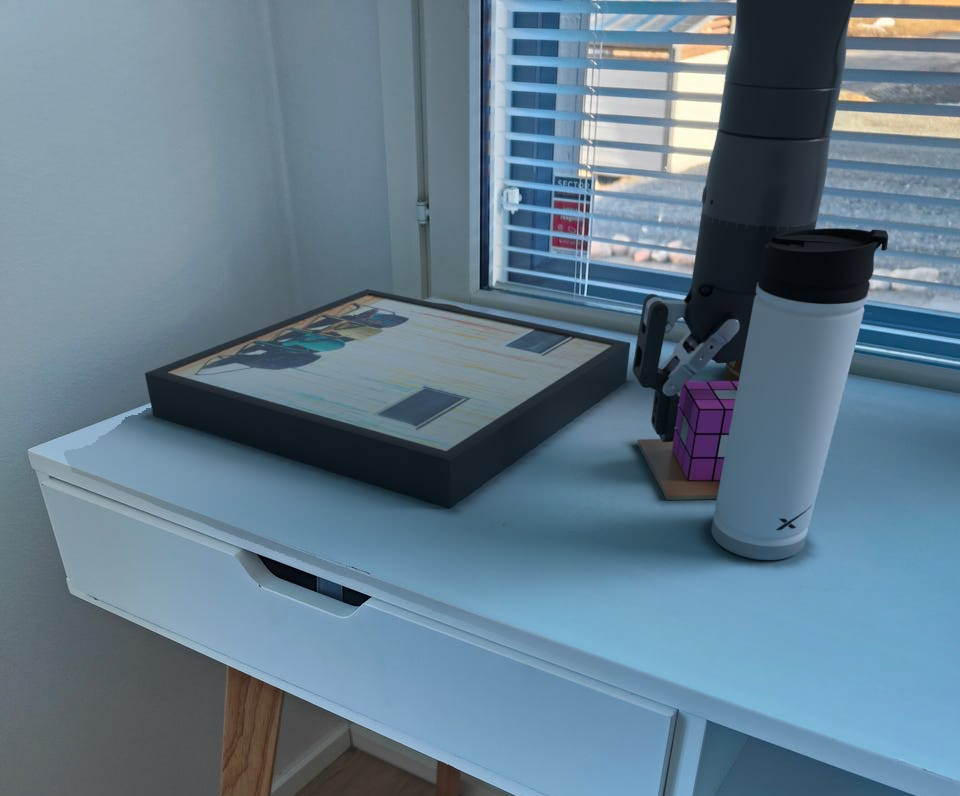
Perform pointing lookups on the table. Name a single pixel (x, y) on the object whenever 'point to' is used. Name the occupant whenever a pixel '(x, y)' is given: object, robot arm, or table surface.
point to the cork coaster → (674, 473)
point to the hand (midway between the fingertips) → (719, 437)
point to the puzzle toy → (704, 428)
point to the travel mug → (791, 386)
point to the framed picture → (394, 390)
